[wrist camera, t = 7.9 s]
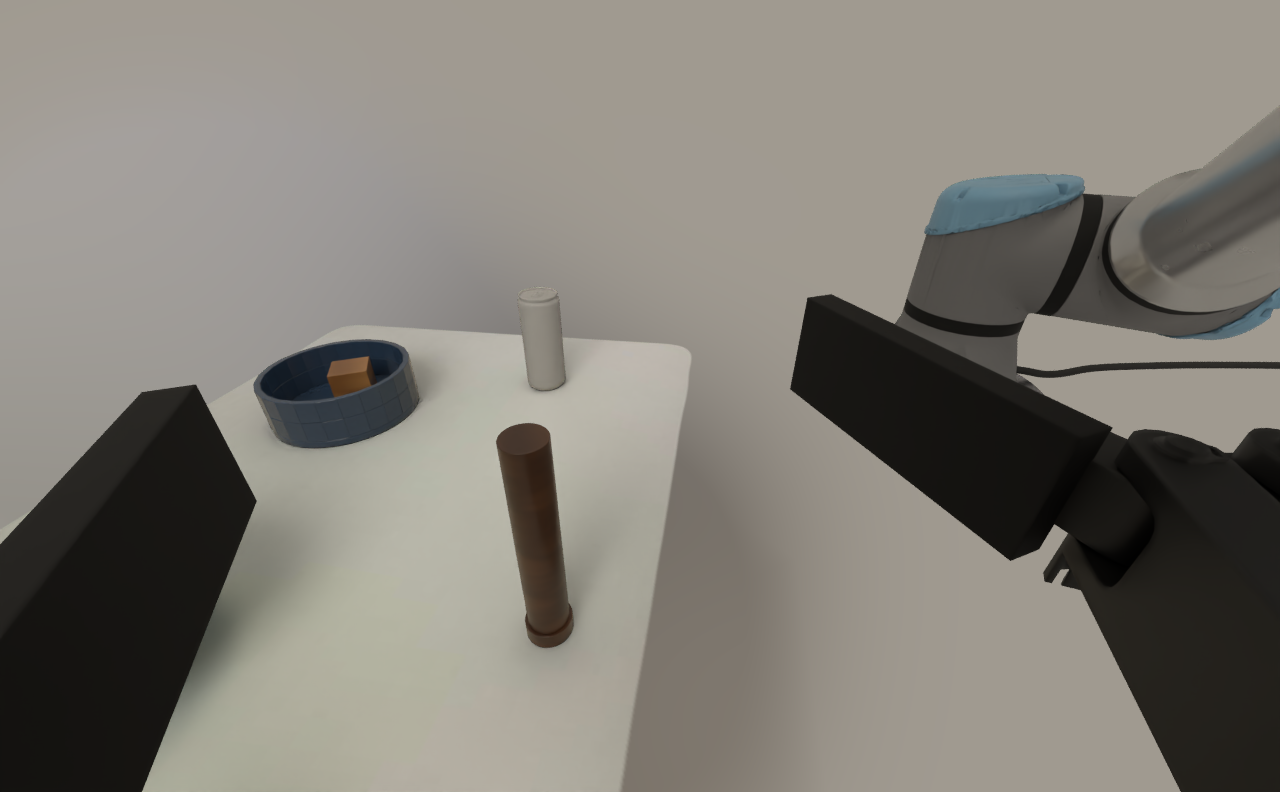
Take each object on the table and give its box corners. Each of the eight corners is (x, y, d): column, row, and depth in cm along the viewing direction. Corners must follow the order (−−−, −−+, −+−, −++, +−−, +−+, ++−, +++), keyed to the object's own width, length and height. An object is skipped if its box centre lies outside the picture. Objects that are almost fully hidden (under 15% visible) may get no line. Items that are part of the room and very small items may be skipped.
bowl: (418, 369, 67) (409, 332, 64) (419, 430, 55) (407, 387, 52) (288, 390, 62) (272, 350, 59) (257, 461, 50) (234, 416, 47)
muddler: (567, 600, 36) (546, 416, 28) (578, 638, 34) (560, 448, 25) (523, 614, 35) (488, 427, 27) (531, 654, 33) (496, 462, 24)
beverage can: (570, 375, 65) (563, 287, 59) (559, 394, 61) (551, 301, 55) (535, 372, 66) (525, 285, 60) (522, 390, 62) (510, 299, 56)
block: (377, 384, 62) (369, 356, 59) (375, 400, 58) (366, 370, 56) (341, 390, 60) (331, 361, 58) (337, 407, 57) (326, 376, 55)
